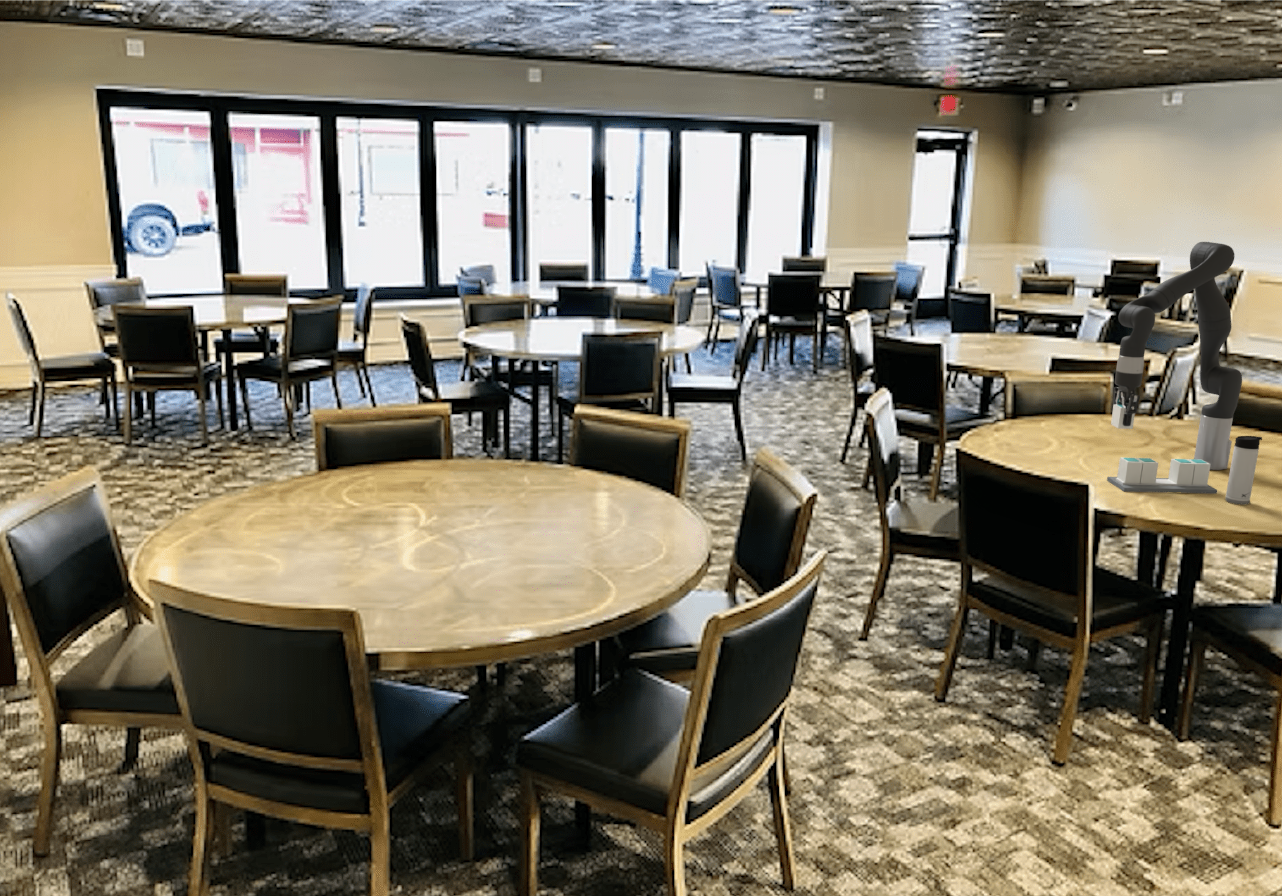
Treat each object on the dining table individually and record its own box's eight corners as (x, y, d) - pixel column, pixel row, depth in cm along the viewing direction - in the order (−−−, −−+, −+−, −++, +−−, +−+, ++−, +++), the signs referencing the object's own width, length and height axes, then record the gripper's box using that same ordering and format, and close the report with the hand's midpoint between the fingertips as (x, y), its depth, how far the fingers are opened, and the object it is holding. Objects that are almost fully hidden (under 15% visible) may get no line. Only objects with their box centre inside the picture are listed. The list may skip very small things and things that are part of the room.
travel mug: (1248, 506, 305) (1260, 439, 300) (1223, 502, 309) (1234, 435, 304) (1252, 501, 310) (1263, 435, 305) (1227, 497, 314) (1238, 432, 309)
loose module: (1125, 424, 333) (1128, 403, 331) (1132, 428, 327) (1135, 407, 326) (1110, 424, 333) (1113, 403, 331) (1118, 428, 327) (1120, 407, 326)
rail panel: (1196, 482, 329) (1200, 456, 327) (1216, 493, 317) (1221, 466, 315) (1106, 480, 329) (1110, 453, 327) (1123, 491, 317) (1127, 464, 315)
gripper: (1152, 374, 319) (1144, 429, 323) (1131, 366, 332) (1124, 418, 337) (1127, 374, 319) (1119, 428, 323) (1107, 365, 333) (1101, 418, 337)
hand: (1122, 423), depth 330 cm, fingers closed on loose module, 5 cm apart
